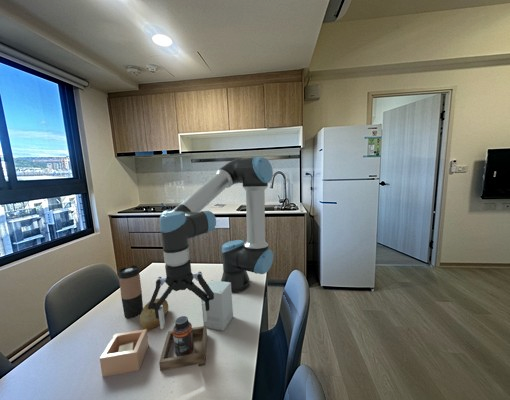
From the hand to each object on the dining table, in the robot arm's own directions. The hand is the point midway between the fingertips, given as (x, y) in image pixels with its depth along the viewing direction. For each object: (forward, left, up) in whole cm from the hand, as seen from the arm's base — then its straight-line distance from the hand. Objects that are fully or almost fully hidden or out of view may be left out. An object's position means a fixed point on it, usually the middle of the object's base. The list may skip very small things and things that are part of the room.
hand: (184, 322), depth 74 cm
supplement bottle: (+1, +1, -10) cm, 10 cm away
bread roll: (+15, -20, -11) cm, 27 cm away
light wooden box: (+18, 0, -10) cm, 21 cm away
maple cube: (+18, 0, -9) cm, 21 cm away
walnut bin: (0, 0, -10) cm, 10 cm away
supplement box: (-11, -13, -11) cm, 20 cm away
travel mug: (+25, -27, -11) cm, 38 cm away
